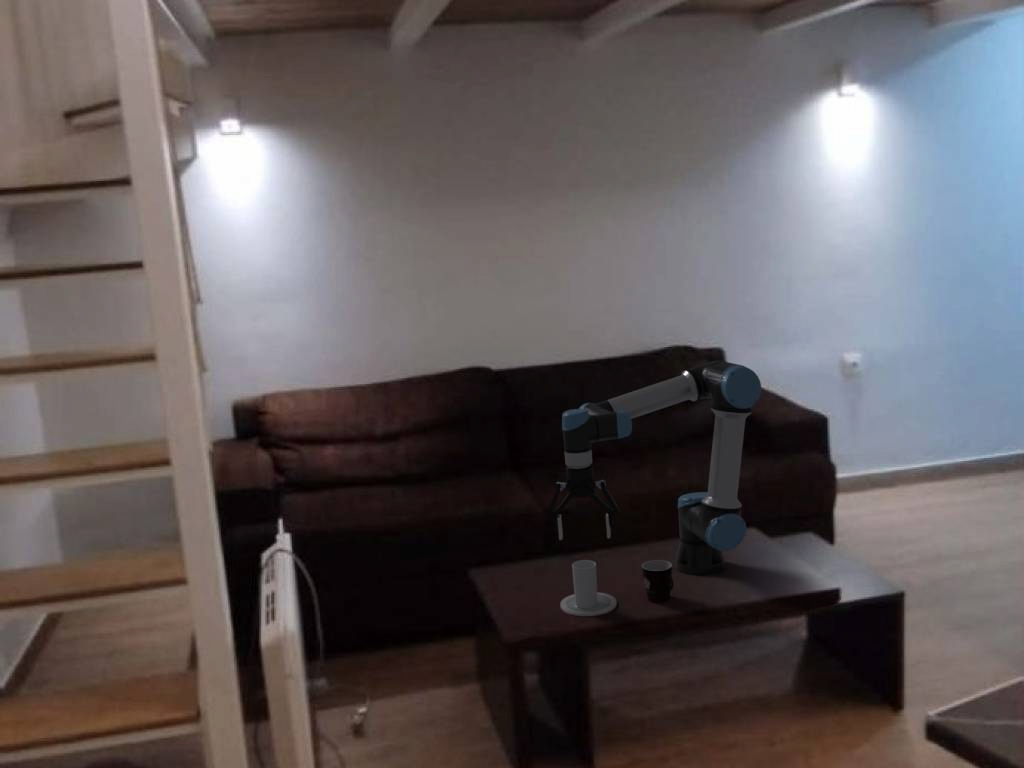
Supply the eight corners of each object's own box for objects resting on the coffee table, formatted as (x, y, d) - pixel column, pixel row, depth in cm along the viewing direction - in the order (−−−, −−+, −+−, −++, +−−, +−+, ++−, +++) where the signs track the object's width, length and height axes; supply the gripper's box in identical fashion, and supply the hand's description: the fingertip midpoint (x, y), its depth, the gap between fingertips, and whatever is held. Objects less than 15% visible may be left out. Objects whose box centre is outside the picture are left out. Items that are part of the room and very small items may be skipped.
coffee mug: (642, 593, 299) (640, 561, 297) (671, 592, 299) (670, 559, 297) (646, 609, 287) (644, 575, 286) (677, 607, 287) (675, 573, 285)
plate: (618, 594, 300) (618, 591, 300) (614, 616, 284) (614, 613, 284) (563, 594, 303) (563, 592, 302) (557, 616, 287) (557, 613, 287)
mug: (600, 607, 289) (597, 567, 287) (576, 610, 288) (573, 569, 286) (594, 594, 299) (592, 555, 296) (571, 596, 298) (569, 557, 296)
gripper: (624, 459, 288) (629, 531, 292) (536, 463, 292) (543, 534, 296) (623, 466, 281) (628, 540, 284) (533, 470, 285) (539, 543, 289)
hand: (584, 537), depth 290 cm, fingers open, 13 cm apart
